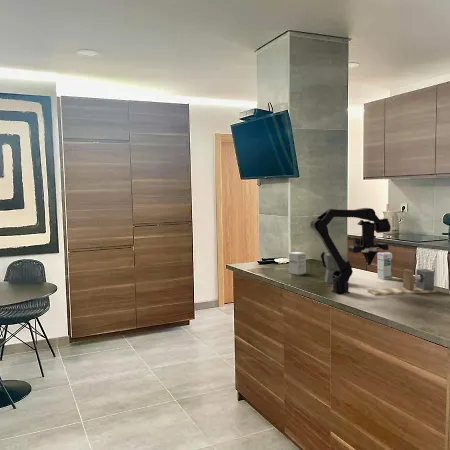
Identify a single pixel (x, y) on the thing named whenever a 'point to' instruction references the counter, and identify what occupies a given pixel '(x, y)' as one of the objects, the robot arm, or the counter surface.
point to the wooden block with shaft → (410, 279)
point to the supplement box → (297, 263)
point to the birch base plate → (397, 291)
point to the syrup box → (384, 265)
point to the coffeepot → (328, 266)
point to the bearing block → (425, 279)
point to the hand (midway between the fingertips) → (369, 265)
